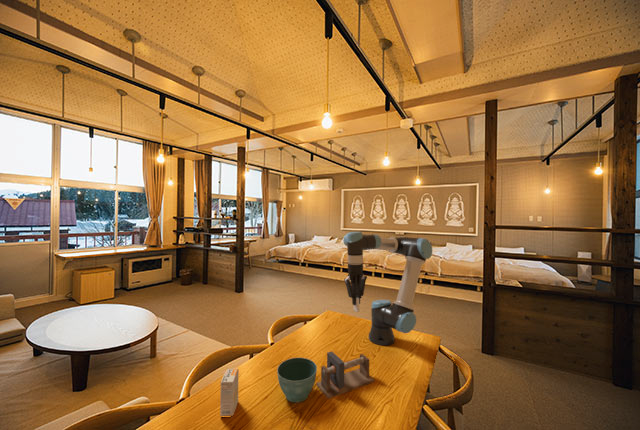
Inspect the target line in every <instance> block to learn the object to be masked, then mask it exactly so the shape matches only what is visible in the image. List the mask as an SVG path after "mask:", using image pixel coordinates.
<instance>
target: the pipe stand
mask: <svg viewBox="0 0 640 430" xmlns="http://www.w3.org/2000/svg"><path fill="white" fill-rule="evenodd" d="M357 366H359V368H356V369H353V370H351V371H347V372H344V387H342V388H340V389H339V388H338V387H337V386H336V385H335V384H334V383H333V381H332V380H331V379H330V374H335V373H336V367H335V366H334V365H333V366H331V367H329V368H327V366H325V365H322V366H320V372H321V373H320V375H321V376H320V377H321V378H320V381H318V382H316V386H317V387H318V389H319V390H320V391H321V393H322V394H323V395H324V396H325V398H326V399H327V400H330V399H333V398H335V397H338V396H340V395H342V394H346V393H347V392H350V391H353V390H356V389H358V388H361V387H364V386H366V385H369V384H372V383H374V382H375V380H376V379H375V378H374V377H372V375H370V358H368V357H367V356H365V355H364V354H363V353H361V354H359V358H358V357H357V358H355V359H352V360H349V361H346V362H344V371H345V370H349V369H351V368H354V367H357Z"/></svg>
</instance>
